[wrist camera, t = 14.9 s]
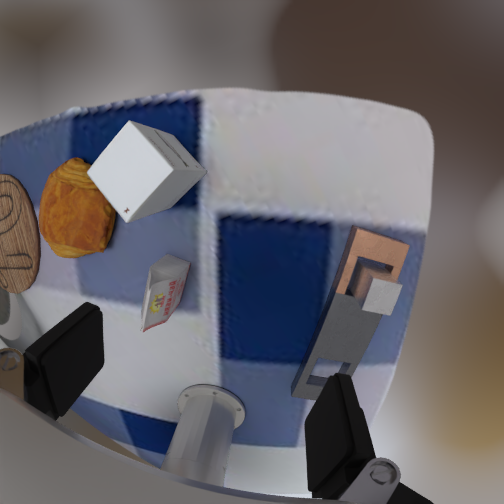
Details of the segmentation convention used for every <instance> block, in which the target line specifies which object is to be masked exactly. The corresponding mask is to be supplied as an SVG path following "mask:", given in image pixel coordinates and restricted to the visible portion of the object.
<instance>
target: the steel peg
mask: <svg viewBox="0 0 504 504" xmlns="http://www.w3.org/2000/svg"><path fill="white" fill-rule="evenodd" d="M348 287H349V289H350V290H351V292H352V294H353V296H354V297H355V299H356V301H357V302H358V304H359V306H360V308H361V309H362V310H365V311H370V312H375V313H380V314H385V315H391V313H392V311H393V308H394V306H395V303H396V301H397V298H398V296H399V293H400V291H401V288H402V284H401V283H400V282H399V281H398V280H397V279H396V278H395V277H394V276H393V275H392V274H391V273H390V272H389V271H388V270H386V269H385V268H384V267H383V266H382V265H381V264H378V263H374V262H370V261H367V260H363V259H359V258H357V261H356V264H355V267H354V270H353V272H352V275H351V278H350V281H349V283H348Z"/></svg>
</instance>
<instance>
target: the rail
mask: <svg viewBox="0 0 504 504" xmlns="http://www.w3.org/2000/svg"><path fill="white" fill-rule="evenodd" d="M408 249H409V245H408V244H406V243H404V242H403V241H400V240H397V239H394V238H391V237H388V236H385V235H382V234H379V233H376V232H373V231H370V230H366V229H363V228H360V227H357V226H354V225H352V228H351V231H350V235H349V238H348V241H347V244H346V247H345V250H344V253H343V256H342V259H341V262H340V265H339V268H338V271H337V274H336V277H335V280H334V282H333V285H332V288H331V291H330V293H329V296H328V299H327V302H326V304H325V307H324V309H323V312H322V315H321V317H320V320H319V322H318V325H317V327H316V330H315V332H314V335H313V337H312V340H311V342H310V345H309V347H308V349H307V352H306V354H305V356H304V359H303V361H302V363H301V366H300V368H299V370H298V372H297V375H296V377H295V379H294V381H293V383H292V386H291V396H292V397H298V398H304V399H310V400H317V398H318V397H319V395H320V393H321V391H322V389H323V387H324V386H325V384H326V382H327V380H328V378H324V377H318V376H312V375H310V374H311V372H312V369H313V367H314V365H315V363H316V361H317V359H318V358H324V359H329V360H335V361H341V362H344V363H343V365H342V367H341V369H340V371H339V373H342V374H348V375H350V376H351V377H352V375H353V373H354V371H355V370H356V368H357V366H358V364H359V362H360V360H361V358H362V356H363V354H364V353H365V351H366V349H367V347H368V345H369V343H370V341H371V338H372V336H373V334H374V332H375V330H376V328H377V326H378V324H379V321H380V319H381V317H382V315H383V314H380V313H375V312H370V311H365V310H362V309H361V308H360V306H359V304H358V302H357V301H356V299H355V297H354V296H353V294H352V292H351V290H349V289H347V286H348V283H349V281H350V278H351V275H352V272H353V270H354V267H355V264H356V261H357V258H358V256H361V257H365V258H368V259H372V260H375V261H378V262H382V263H385V264H386V266H385V269H386V270H388V271H389V272H390V273H391V274H392V275H393V276H394V277H395V278H396V279H398V276H399V274H400V271H401V268H402V266H403V263H404V260H405V257H406V254H407V252H408Z"/></svg>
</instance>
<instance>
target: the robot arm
mask: <svg viewBox="0 0 504 504" xmlns="http://www.w3.org/2000/svg"><path fill="white" fill-rule="evenodd" d="M103 365H104V343H103V314H102V312H101V311H100V308H99V307H98V306H96V305H94V304H91V303H89V302H85V303H84V304H82V305H81V306H80V307H78V308H77V309H76V310H75V311H73V312H72V313H71V314H69V315H68V316H67V317H65V318H64V319H63V320H62V321H60V322H59V323H58V324H57V325H55V326H54V327H53V328H51V329H50V330H49V331H48V332H46V333H45V334H44V335H43V336H42V337H40V338H39V339H38V340H37V341H35V342H34V343H33V344H32V345H31V346H29V347H28V348H27V349H26V350H25V353H24V354H23V355H22V354H21V352H19V351H18V350H16V349H14V348H3V349H0V504H433V503H432V502H431V501H430V500H428V499H426V498H425V497H423V496H421V495H420V494H418V493H416V492H415V491H413V490H412V489H410V488H408V487H407V486H405V485H404V484H402V483H400V482H399V481H400V478H401V473H400V470H399V468H398V466H397V465H396V464H395V463H394V462H392V461H391V460H389V459H386V458H376V456H375V452H374V448H373V444H372V440H371V437H370V433H369V430H368V426H367V423H366V419H365V416H364V412H363V410H362V408H360V406H359V402H358V399H357V395H356V392H355V389H354V385H353V382H352V379H351V376H350V375H348V374H342V373H335V374H334V376H329V378H328V380H327V382H326V384H325V386H324V387H323V389H322V391H321V393H320V395H319V397H318V398H317V400H316V402H315V404H314V406H313V407H312V409H311V411H310V413H309V414H308V416H307V418H306V420H305V441H306V459H307V480H308V490H309V491H311V492H312V498H322V499H310V498H295V497H285V496H276V495H267V494H260V493H253V492H247V491H241V490H235V489H230V488H225V487H223V484H224V478H225V473H226V467H227V462H228V457H229V452H230V446H231V441H232V436H233V430H234V429H235V428H237V427H239V426H240V425H241V424H242V423H243V421H244V418H245V408H244V405H243V404H242V402H241V401H240V400H239V398H237V397H236V396H235V395H234V394H232V393H230V392H229V391H227V390H224V389H222V388H219V387H216V386H210V385H195V386H192V387H189V388H187V389H185V390H184V391H183V392H182V393H181V394H180V396H179V399H178V403H177V405H178V409H179V411H180V413H181V417H180V420H179V422H178V425H177V427H176V430H175V433H174V435H173V438H172V440H171V443H170V446H169V448H168V451H167V453H166V456H165V459H164V461H163V464H162V466H161V469H157V468H154V467H151V466H148V465H146V464H143V463H140V462H138V461H135V460H133V459H130V458H128V457H126V456H123V455H121V454H119V453H116V452H114V451H112V450H110V449H108V448H105V447H103V446H101V445H99V444H97V443H95V442H93V441H91V440H89V439H87V438H85V437H83V436H81V435H80V434H78V433H76V432H74V431H72V430H71V429H69V428H67V427H65V426H64V425H62V424H60V423H58V422H57V421H56V420H57V419H58V417H59V416H61V417H62V416H64V415H65V414H66V412H67V411H68V409H69V408H70V407H71V406H72V405H73V403H74V402H75V401H76V400H77V398H78V397H79V396H80V395H81V393H82V392H83V391H84V390H85V388H86V387H87V386H88V385H89V383H90V382H91V381H92V380H93V378H94V377H95V376H96V375H97V374H98V372H99V371H100V370H101V369H102V367H103ZM45 414H46V415H45Z"/></svg>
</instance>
